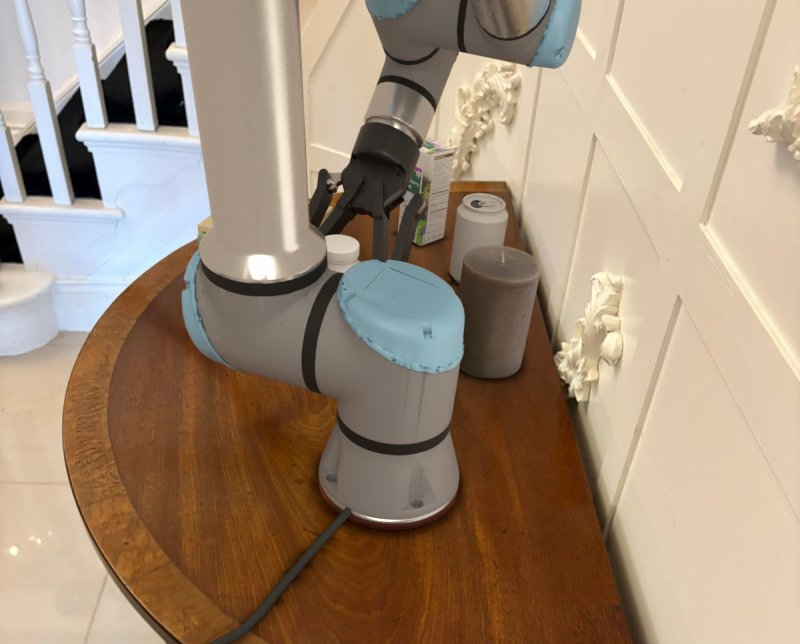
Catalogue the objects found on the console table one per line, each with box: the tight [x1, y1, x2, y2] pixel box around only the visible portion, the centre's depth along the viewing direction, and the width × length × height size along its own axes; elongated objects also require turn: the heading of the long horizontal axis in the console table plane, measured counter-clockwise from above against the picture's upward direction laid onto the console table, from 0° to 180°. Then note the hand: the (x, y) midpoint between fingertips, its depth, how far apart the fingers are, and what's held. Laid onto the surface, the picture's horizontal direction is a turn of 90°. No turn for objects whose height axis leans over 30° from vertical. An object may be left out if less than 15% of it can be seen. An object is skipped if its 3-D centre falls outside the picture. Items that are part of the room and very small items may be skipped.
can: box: [449, 192, 509, 284], centre depth 117 cm, size 8×8×12 cm
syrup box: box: [397, 136, 456, 247], centre depth 125 cm, size 6×6×14 cm
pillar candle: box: [457, 245, 543, 379], centre depth 100 cm, size 10×10×15 cm
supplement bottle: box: [325, 234, 361, 273], centre depth 94 cm, size 7×7×13 cm
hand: (323, 322), depth 93 cm, fingers closed on supplement bottle, 7 cm apart
